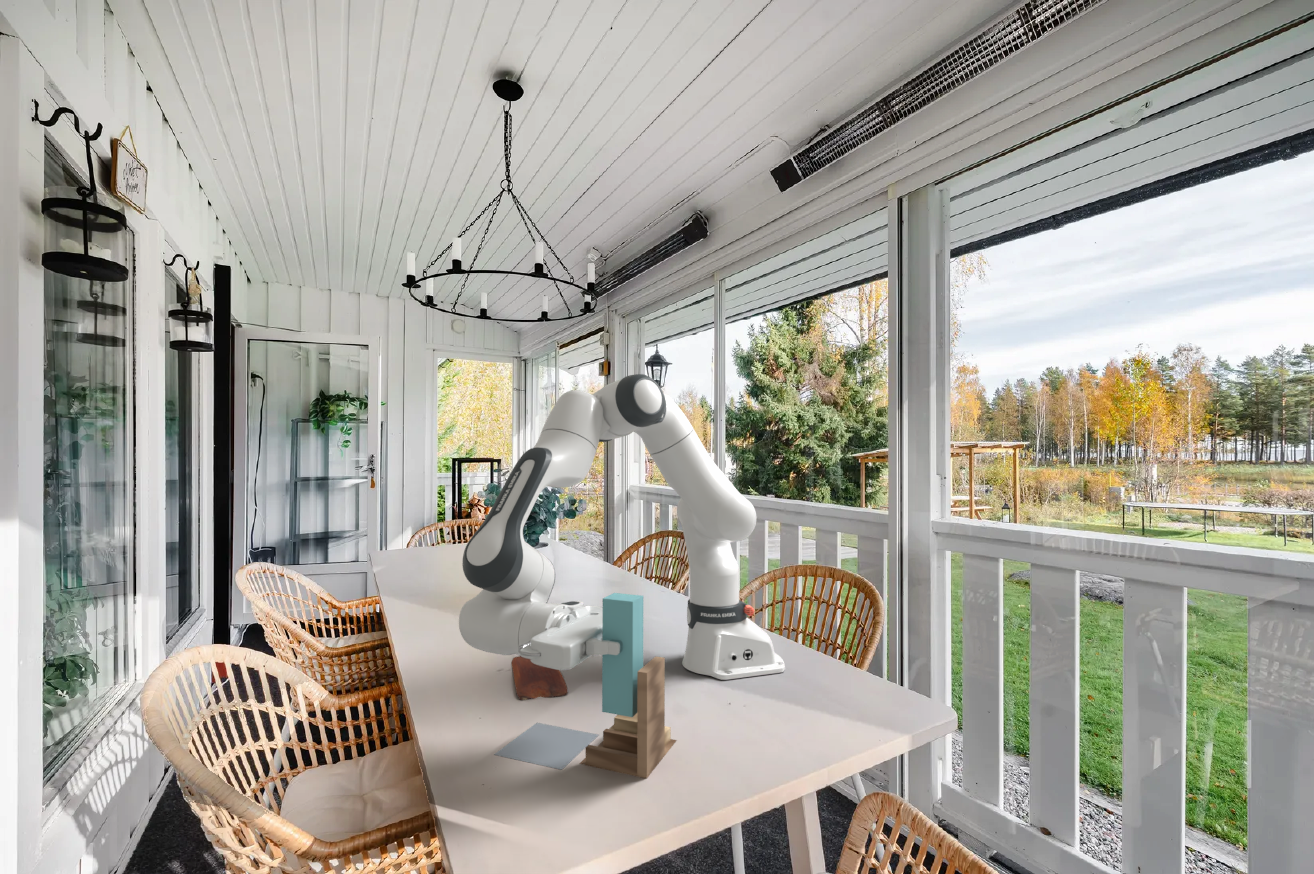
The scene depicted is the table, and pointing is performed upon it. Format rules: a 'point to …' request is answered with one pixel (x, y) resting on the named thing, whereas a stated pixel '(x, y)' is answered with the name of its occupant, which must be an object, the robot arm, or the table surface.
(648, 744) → the walnut rack
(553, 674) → the wooden tablet
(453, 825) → the table surface
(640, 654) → the tall teal block
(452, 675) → the table surface
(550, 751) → the slate mat
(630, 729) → the upper oak offcut
